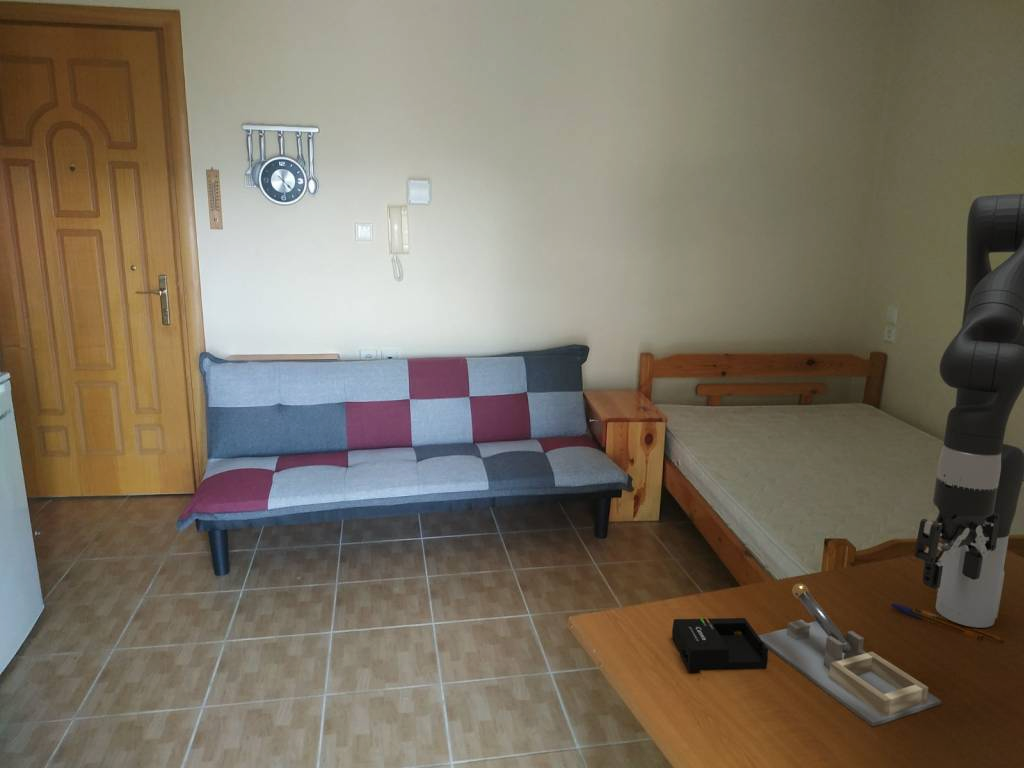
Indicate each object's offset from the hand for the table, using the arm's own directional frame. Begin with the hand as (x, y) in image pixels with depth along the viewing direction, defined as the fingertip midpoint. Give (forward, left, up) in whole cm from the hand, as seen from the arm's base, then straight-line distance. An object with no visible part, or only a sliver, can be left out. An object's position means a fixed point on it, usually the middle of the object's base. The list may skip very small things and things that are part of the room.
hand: (950, 581), depth 103 cm
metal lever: (+9, -9, -14) cm, 19 cm away
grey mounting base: (+9, -3, -18) cm, 21 cm away
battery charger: (+25, -20, -19) cm, 37 cm away
